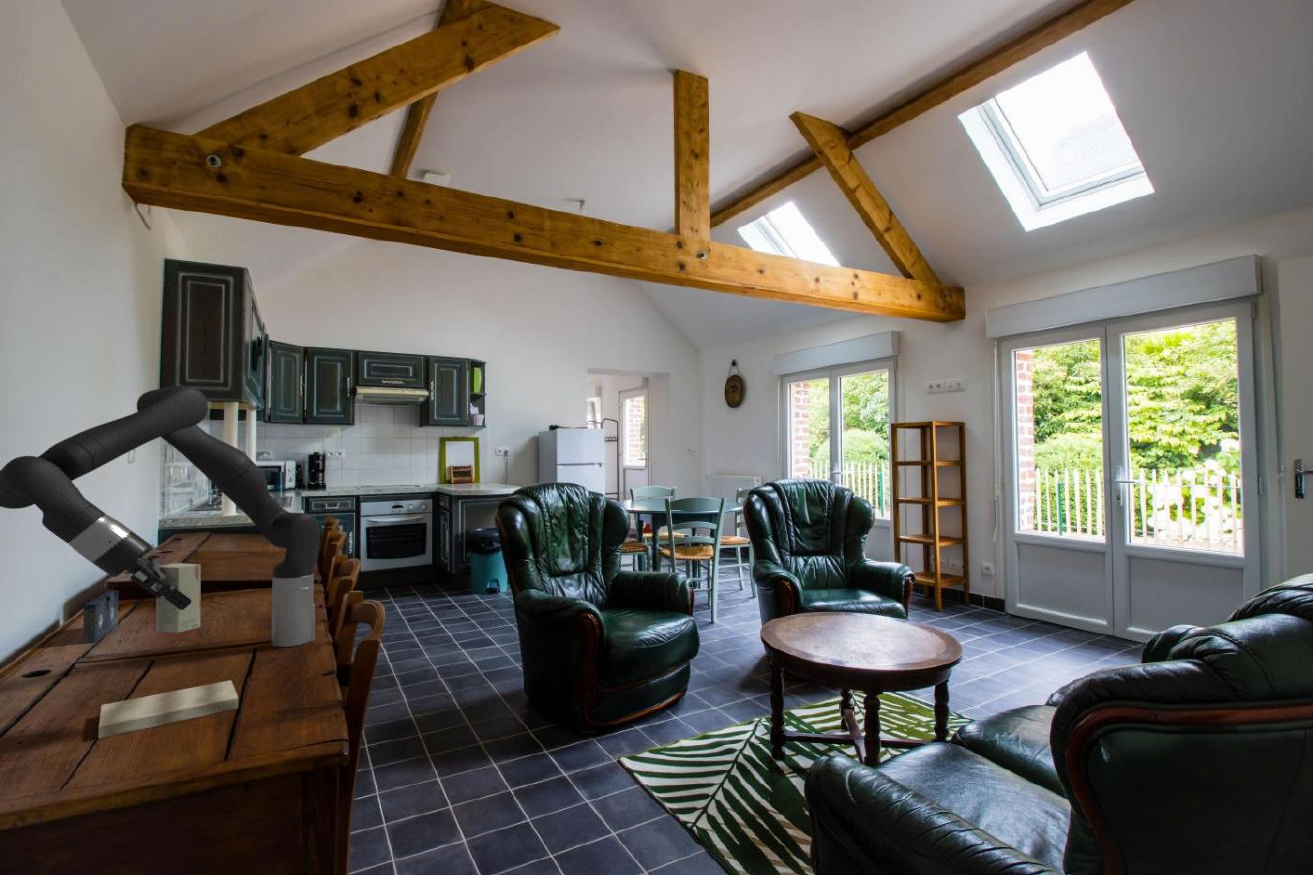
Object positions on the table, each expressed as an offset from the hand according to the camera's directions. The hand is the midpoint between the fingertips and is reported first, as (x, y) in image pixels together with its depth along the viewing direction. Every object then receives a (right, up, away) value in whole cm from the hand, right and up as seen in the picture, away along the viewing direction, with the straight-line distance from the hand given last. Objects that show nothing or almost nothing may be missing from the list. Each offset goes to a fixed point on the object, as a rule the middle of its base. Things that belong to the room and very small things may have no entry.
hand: (188, 601), depth 120 cm
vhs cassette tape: (-60, -22, +48) cm, 80 cm away
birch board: (-2, -20, -2) cm, 21 cm away
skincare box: (-1, -5, -1) cm, 6 cm away
